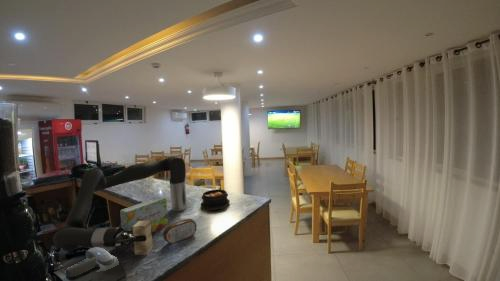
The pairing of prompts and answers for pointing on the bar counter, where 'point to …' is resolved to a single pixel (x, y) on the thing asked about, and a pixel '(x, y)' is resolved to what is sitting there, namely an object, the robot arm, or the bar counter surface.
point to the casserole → (215, 199)
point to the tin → (179, 231)
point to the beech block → (140, 230)
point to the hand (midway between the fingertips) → (148, 234)
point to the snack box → (146, 214)
